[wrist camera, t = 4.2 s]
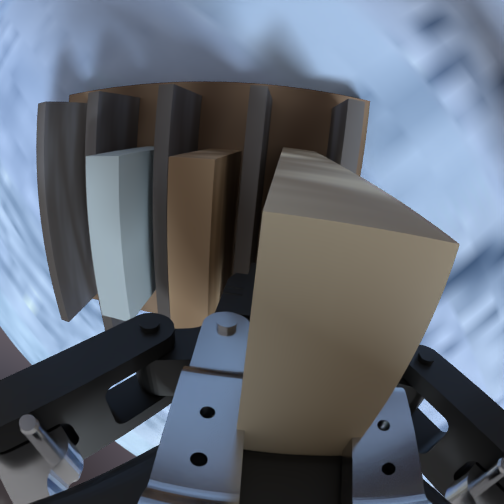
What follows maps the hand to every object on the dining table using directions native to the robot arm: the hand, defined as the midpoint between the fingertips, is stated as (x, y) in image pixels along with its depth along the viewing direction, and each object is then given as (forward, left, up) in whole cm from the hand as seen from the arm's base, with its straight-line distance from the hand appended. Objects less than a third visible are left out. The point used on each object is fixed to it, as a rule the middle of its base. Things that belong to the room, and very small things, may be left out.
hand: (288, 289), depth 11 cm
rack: (+7, 0, -10) cm, 12 cm away
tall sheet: (0, 0, -8) cm, 8 cm away
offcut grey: (+9, 0, -9) cm, 12 cm away
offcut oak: (+5, 0, -9) cm, 10 cm away
